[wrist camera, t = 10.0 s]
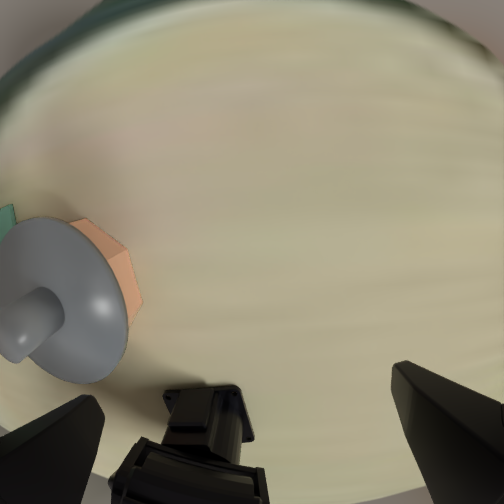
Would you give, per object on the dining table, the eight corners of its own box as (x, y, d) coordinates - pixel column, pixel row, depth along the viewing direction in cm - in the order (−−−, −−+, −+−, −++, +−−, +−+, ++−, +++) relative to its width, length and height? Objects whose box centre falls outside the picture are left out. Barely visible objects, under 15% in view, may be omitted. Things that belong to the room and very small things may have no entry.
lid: (154, 377, 18) (124, 433, 12) (36, 374, 19) (1, 410, 13) (96, 194, 15) (34, 204, 10) (-14, 237, 16) (-64, 254, 11)
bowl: (154, 336, 21) (135, 365, 17) (63, 342, 22) (38, 365, 18) (117, 209, 19) (87, 216, 15) (28, 237, 20) (-5, 248, 16)
